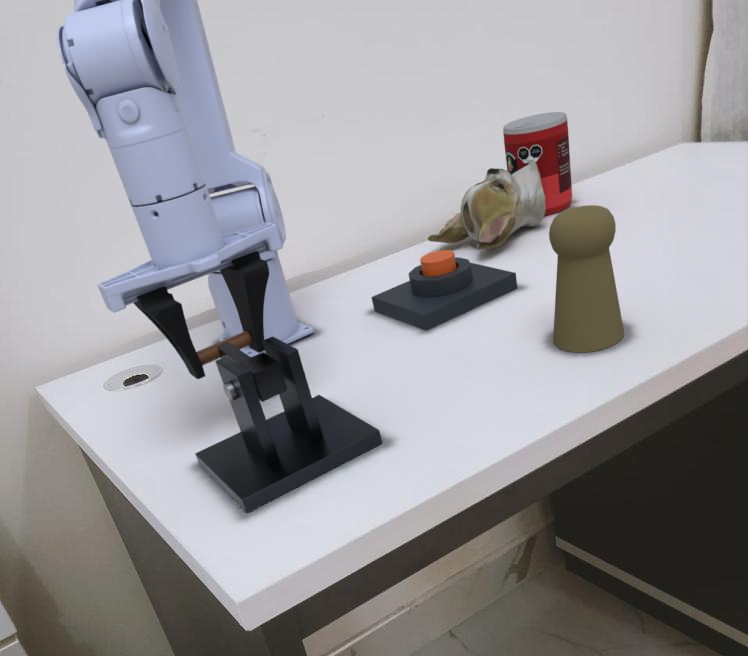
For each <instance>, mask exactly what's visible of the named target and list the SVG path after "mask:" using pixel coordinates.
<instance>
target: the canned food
mask: <svg viewBox="0 0 748 656" xmlns="http://www.w3.org/2000/svg"><path fill="white" fill-rule="evenodd" d="M502 129H503V131H502V134H503V135H502V136H503V145H504V154H505V161H506V170H507V171H509V172H510V174H511V176H512V175H513V174H514V173H515V172H516V171H518V170H520V169H522V168H523V167H525V166H527V165H528V164H529V163H531V162H532V161H534V162H535V163H536V164H537V168H538V171H539V173H540V179H541V184H542V188H543V192H544V195H545V206H546V209H545V214H544V217H546V216H550V215H555V214H559V213H561V212H563V211H565V210H567V209H569V207H570V206H571V204H572V201H573V187H572V170H571V169H572V168H571V153H570V137H569V136H570V135H569V124H568V116H567V113H566V112H562V111H553V112H552V111H550V112H543V113H538V114H533V115H528V116H525V117H521V118H518V119H515V120H512V121H510V122H508V123H506V124H504V126H503V128H502Z"/></svg>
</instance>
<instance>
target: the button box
mask: <svg viewBox="0 0 748 656" xmlns="http://www.w3.org/2000/svg"><path fill="white" fill-rule="evenodd" d="M455 262H456V268H457V269H456V270H454V271H452V272H449V273H447V274H443V275H439V276H423V273H422V268H421V264H419V265H417V266H414V268H412V270H410V271H409V272H408V278H409V280H408V281H405V282H403V283H400V284H397V285H396V286H393V287H391V288H389V289H387V290H384V291H382V292H380V293H377V294H374V295H372V296H371V302H372V307H373V310H374V312H375V313H377V314H380V315H383V316H385V317H388V318H391V319H393V320H396V321H399V322H402V323H405V324H408V325H410V326H413V327H415V328H419V329H421V330H424V331H429V330H431V329H433V328H435V327H438V326H440V325H442V324H444V323H446V322H448V321H450V320H453V319H455V318H457V317H458V316H461V315H464V314H465V313H467V312H470V311H471V310H474V309H476V308H478V307H481V306H482V305H484V304H488V302H490V301H493V300H495V299H497V298H500V297H502V296H503V295H506V294H508V293H510V292H512V291H515V290H516V289H518V281H517V280H518V279H517V273H516V272H514V271H509V270H506V269H500V268H497V267H492V266H488V265H482V264H480V263H479V264H478V263H474V262H470V260H469V259H468V258H463V257H459V256H457V257H456V256H455Z"/></svg>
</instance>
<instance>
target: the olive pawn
mask: <svg viewBox="0 0 748 656" xmlns="http://www.w3.org/2000/svg"><path fill="white" fill-rule="evenodd" d="M616 226H617V225H616V220H615V217H614V215H613V213H612V212H611V211H610V209H609V208H608V207H604V206H602V205H596V204H595V205H593V204H590V205H589V204H588V205H587V204H586V205H580V206H575V207H571V208H567V209H565V210H563V211H560V212H559V213H557V215H556V216H554V217H553V219H552V221H551V223H550V225H549V231H548V237H549V242H550V245H551V248H552V250H553V252H554V253H555V254H556V255H557V263H556V280H555V281H556V282H555V297H554V298H555V299H554V317H553V335H552V342H553V345H554V346H555V347H556V348H558V349H559V350H562V351H565V352H569V353H591V352H597V351H601V350H604V349H608V348H610V347H613V346H615V345H617V344H618V343H619V342H621V341H622V340H623V338H624V335H625V329H624V324H623V318H622V312H621V307H620V302H619V296H618V295H619V294H618V290H617V285H616V279H615V273H614V272H615V271H614V266H613V261H612V257H611V251H610V247H611V245H612V244H613V242H614V239H615V235H616V230H617V229H616V228H617V227H616Z"/></svg>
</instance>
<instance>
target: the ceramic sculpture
mask: <svg viewBox="0 0 748 656" xmlns="http://www.w3.org/2000/svg"><path fill="white" fill-rule="evenodd" d="M545 209H546V206H545V195H544V192H543V188H542V184H541V179H540V173H539V171H538V168H537V164H536V163H535V162H534V161H532V162H531V163H529V164H528V165H527V166H525V167H523V168H522V169H520V170H518V171H516V172H515V173H514V174H513V175H512V176H511V174H510V172H509V171H507V169H504V168H493V167H492V168H488V170H487V171H486V175H485V178H484V180H483V181H480V182H477V183H476V184H474V185H473V186H470V187H469V188H468V189H467V190H466V192H465V193H464V195H463V198H462V199H461V205H460V212H458V213H456V214H455V215H454V217H452V218H451V219H449V220H448V221H447V222H446V224H444V227H443V228H442V229H440V231H439V232H438V234H431V235H429V236H428V237H427V241H429V242H432V243H433V242H434V243H444V244H453V243H458V242H462V241H464V240H466V239H467V238H471V239H473V240H474V241H476V243H477V244H476V246H475V247H476V248H477V249H484V250H493V249H495V248H499V247H500V246H502V245H503V244H505V242H506V241H507V239H508V238H509V237H510V236H511V235H512V234H513V233H514V232H516V231H517V230H519V229H520V228H521V227H522V228H529V227H536V226H538V225H539V224H541V222H542V221H543V219H544V217H545V216H544V214H545Z"/></svg>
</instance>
